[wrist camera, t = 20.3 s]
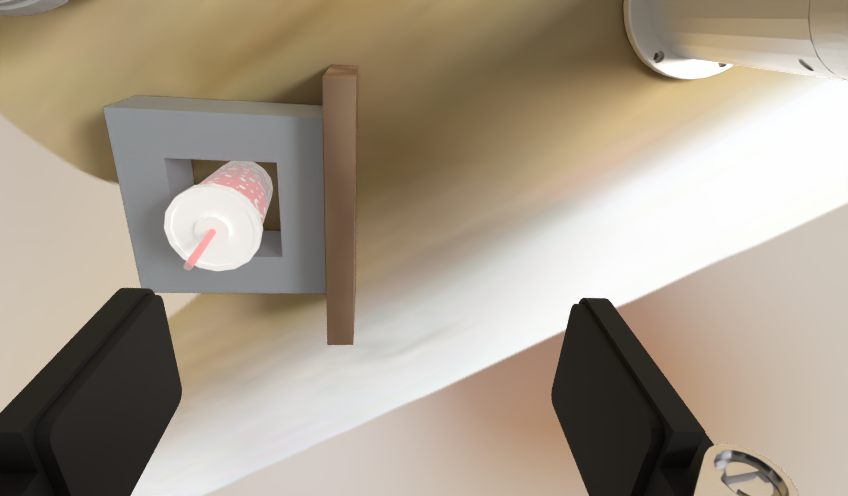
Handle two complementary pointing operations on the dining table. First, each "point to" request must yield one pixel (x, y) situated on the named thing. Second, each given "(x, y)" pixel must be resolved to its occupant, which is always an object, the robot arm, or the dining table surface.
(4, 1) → the food container
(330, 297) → the walnut wall
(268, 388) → the dining table surface
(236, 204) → the beverage cup
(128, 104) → the socket block
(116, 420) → the robot arm
